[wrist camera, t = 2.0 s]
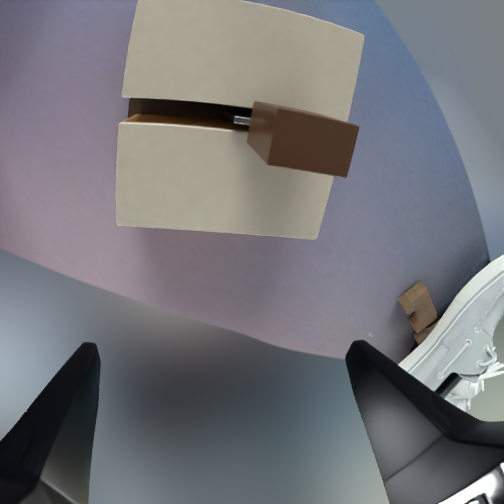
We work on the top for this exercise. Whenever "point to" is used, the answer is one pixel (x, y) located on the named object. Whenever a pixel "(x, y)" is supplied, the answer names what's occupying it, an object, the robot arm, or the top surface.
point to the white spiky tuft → (471, 388)
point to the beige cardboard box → (217, 123)
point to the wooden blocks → (419, 310)
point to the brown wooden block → (298, 138)
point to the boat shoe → (462, 335)
